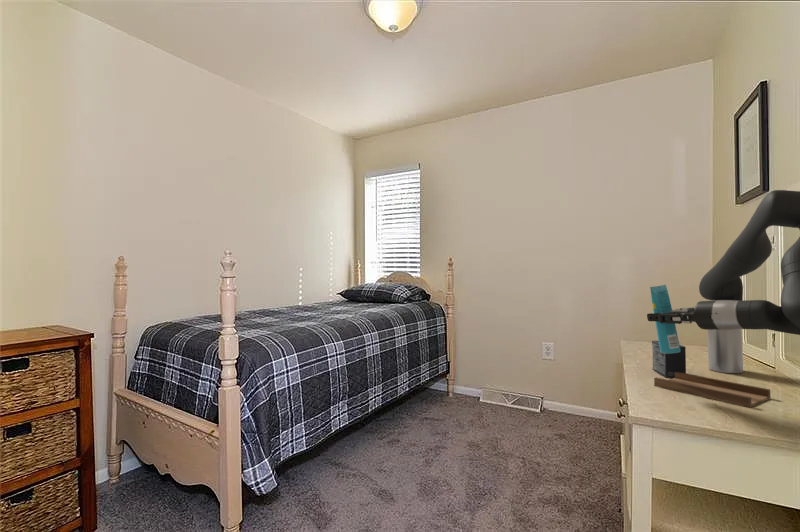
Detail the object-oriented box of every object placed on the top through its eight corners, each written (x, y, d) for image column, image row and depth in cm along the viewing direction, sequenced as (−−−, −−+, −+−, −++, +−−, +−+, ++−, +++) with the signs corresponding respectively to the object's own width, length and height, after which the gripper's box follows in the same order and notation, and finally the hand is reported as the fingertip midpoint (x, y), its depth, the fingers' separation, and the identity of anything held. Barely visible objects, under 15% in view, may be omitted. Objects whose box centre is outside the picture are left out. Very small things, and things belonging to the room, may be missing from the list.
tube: (667, 349, 117) (655, 285, 118) (685, 350, 113) (673, 283, 114) (654, 354, 113) (643, 287, 114) (673, 355, 109) (661, 286, 110)
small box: (688, 378, 127) (687, 346, 127) (665, 378, 129) (664, 345, 129) (672, 370, 138) (671, 340, 138) (651, 370, 139) (650, 340, 139)
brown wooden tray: (676, 379, 127) (676, 371, 127) (770, 398, 107) (770, 389, 107) (654, 385, 121) (654, 377, 121) (749, 407, 101) (749, 397, 101)
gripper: (732, 297, 105) (666, 300, 120) (704, 304, 98) (637, 306, 113) (737, 325, 104) (670, 324, 119) (709, 334, 98) (642, 332, 113)
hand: (654, 315), depth 116 cm, fingers closed on tube, 6 cm apart
